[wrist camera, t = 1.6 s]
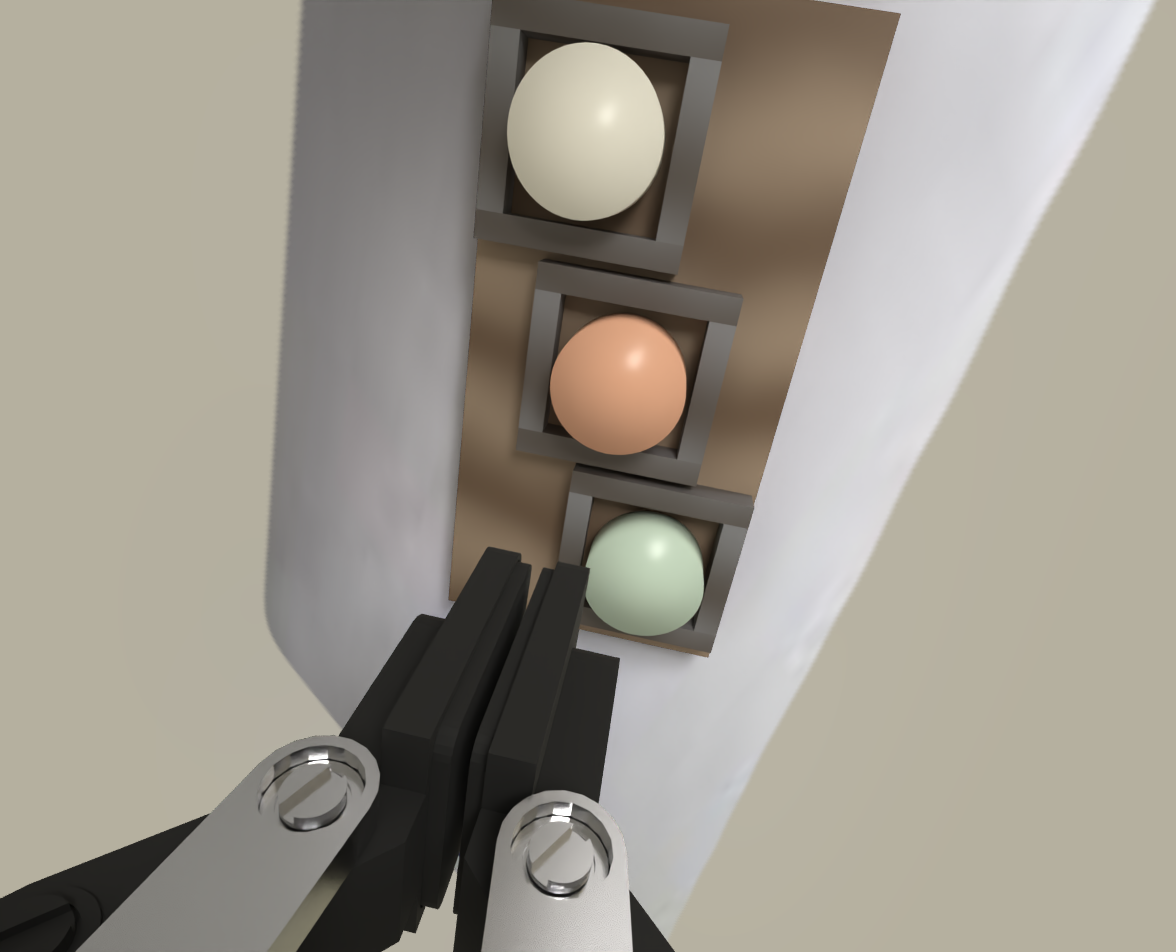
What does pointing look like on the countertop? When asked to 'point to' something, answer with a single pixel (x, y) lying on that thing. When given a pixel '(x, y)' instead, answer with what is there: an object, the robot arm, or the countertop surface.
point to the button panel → (661, 274)
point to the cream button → (586, 132)
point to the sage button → (645, 573)
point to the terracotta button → (619, 384)
